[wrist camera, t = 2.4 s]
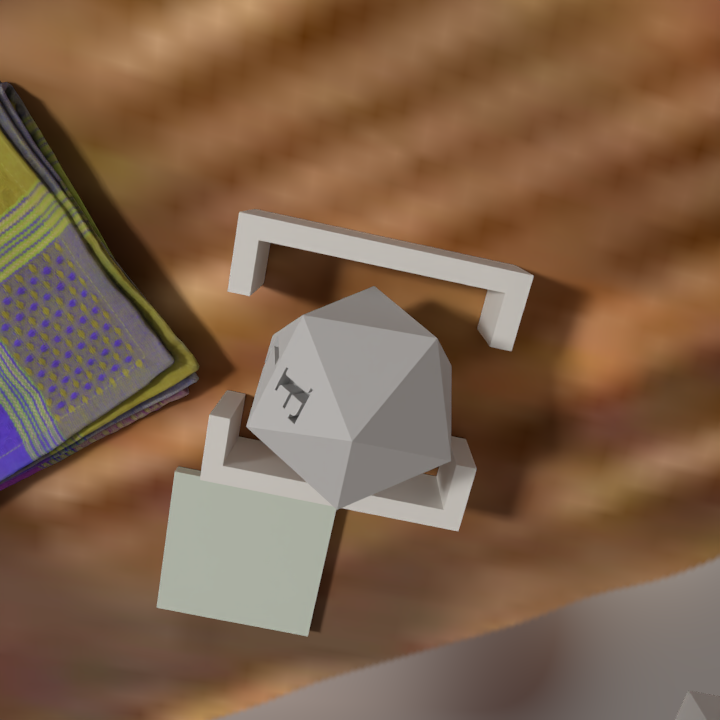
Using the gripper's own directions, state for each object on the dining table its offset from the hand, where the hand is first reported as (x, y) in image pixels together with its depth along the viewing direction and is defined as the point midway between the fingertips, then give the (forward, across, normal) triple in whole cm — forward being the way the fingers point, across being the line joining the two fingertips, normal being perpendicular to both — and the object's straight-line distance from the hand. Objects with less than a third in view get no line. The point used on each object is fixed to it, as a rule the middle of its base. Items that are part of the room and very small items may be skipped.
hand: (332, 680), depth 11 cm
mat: (+20, -4, -12) cm, 24 cm away
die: (+21, 0, 0) cm, 21 cm away
